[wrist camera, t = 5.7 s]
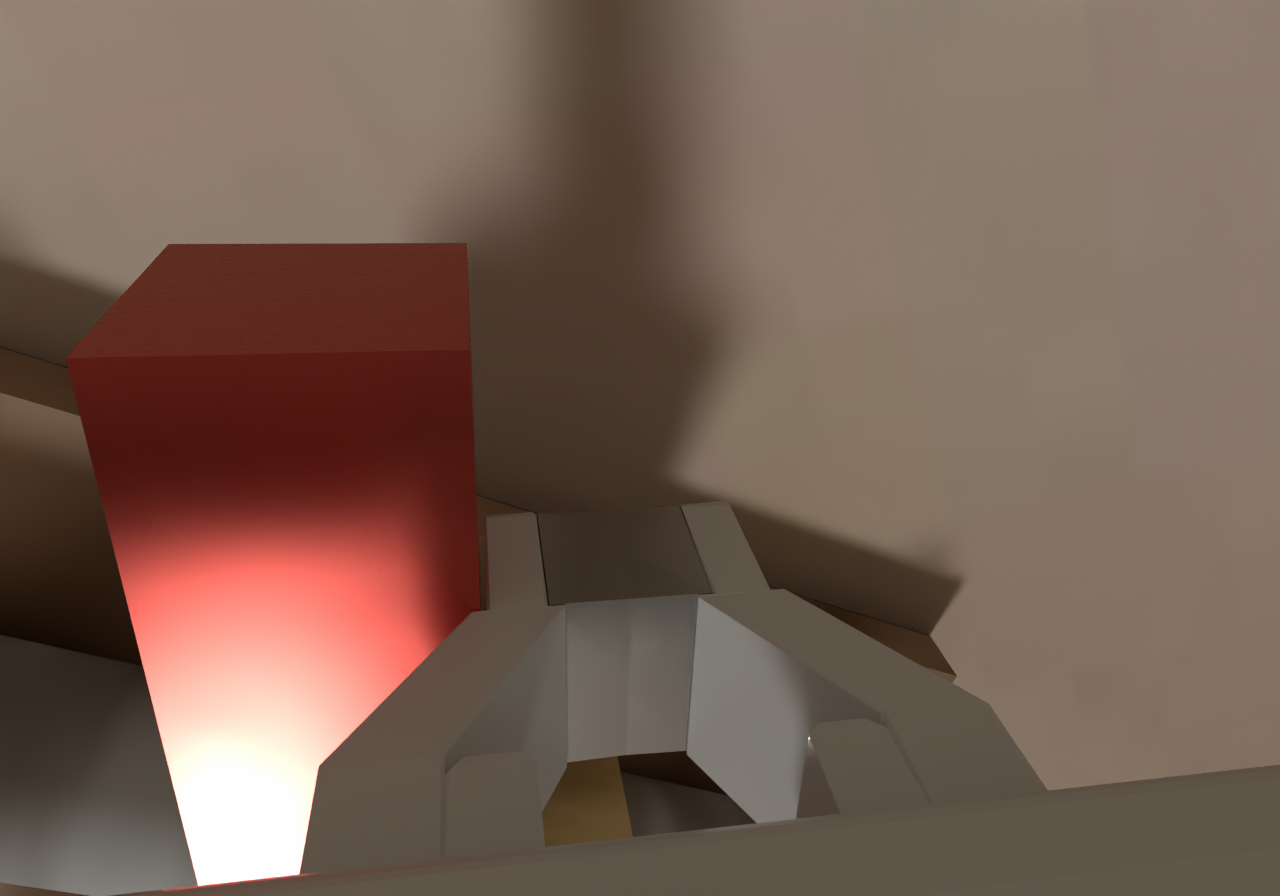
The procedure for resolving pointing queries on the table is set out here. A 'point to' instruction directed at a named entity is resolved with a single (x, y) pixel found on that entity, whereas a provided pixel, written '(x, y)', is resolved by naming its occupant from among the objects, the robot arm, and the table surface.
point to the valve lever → (282, 509)
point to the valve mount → (121, 702)
